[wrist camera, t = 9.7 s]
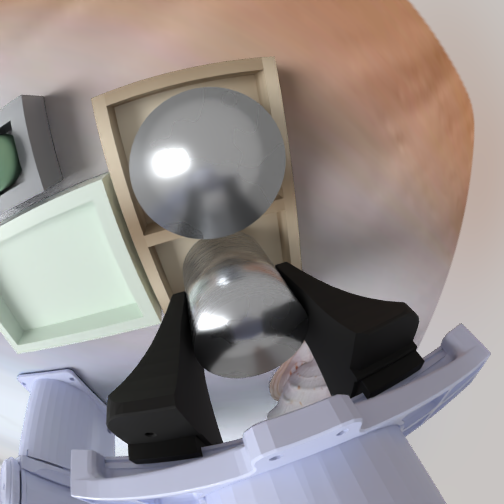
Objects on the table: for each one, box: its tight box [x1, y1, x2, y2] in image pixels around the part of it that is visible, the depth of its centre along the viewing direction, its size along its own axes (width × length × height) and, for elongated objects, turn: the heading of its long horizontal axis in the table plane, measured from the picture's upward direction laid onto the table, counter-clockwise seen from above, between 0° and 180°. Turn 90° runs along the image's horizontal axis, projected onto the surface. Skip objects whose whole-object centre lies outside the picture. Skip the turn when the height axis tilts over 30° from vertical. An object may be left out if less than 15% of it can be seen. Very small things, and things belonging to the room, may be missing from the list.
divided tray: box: [91, 57, 302, 314], centre depth 14 cm, size 14×8×2 cm, turn 10°
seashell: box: [267, 340, 331, 419], centre depth 20 cm, size 10×12×9 cm
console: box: [0, 95, 63, 215], centre depth 9 cm, size 5×5×2 cm
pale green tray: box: [0, 172, 161, 354], centre depth 13 cm, size 9×13×2 cm
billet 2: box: [183, 232, 309, 378], centre depth 12 cm, size 5×5×6 cm
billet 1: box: [129, 87, 286, 239], centre depth 10 cm, size 5×5×6 cm
